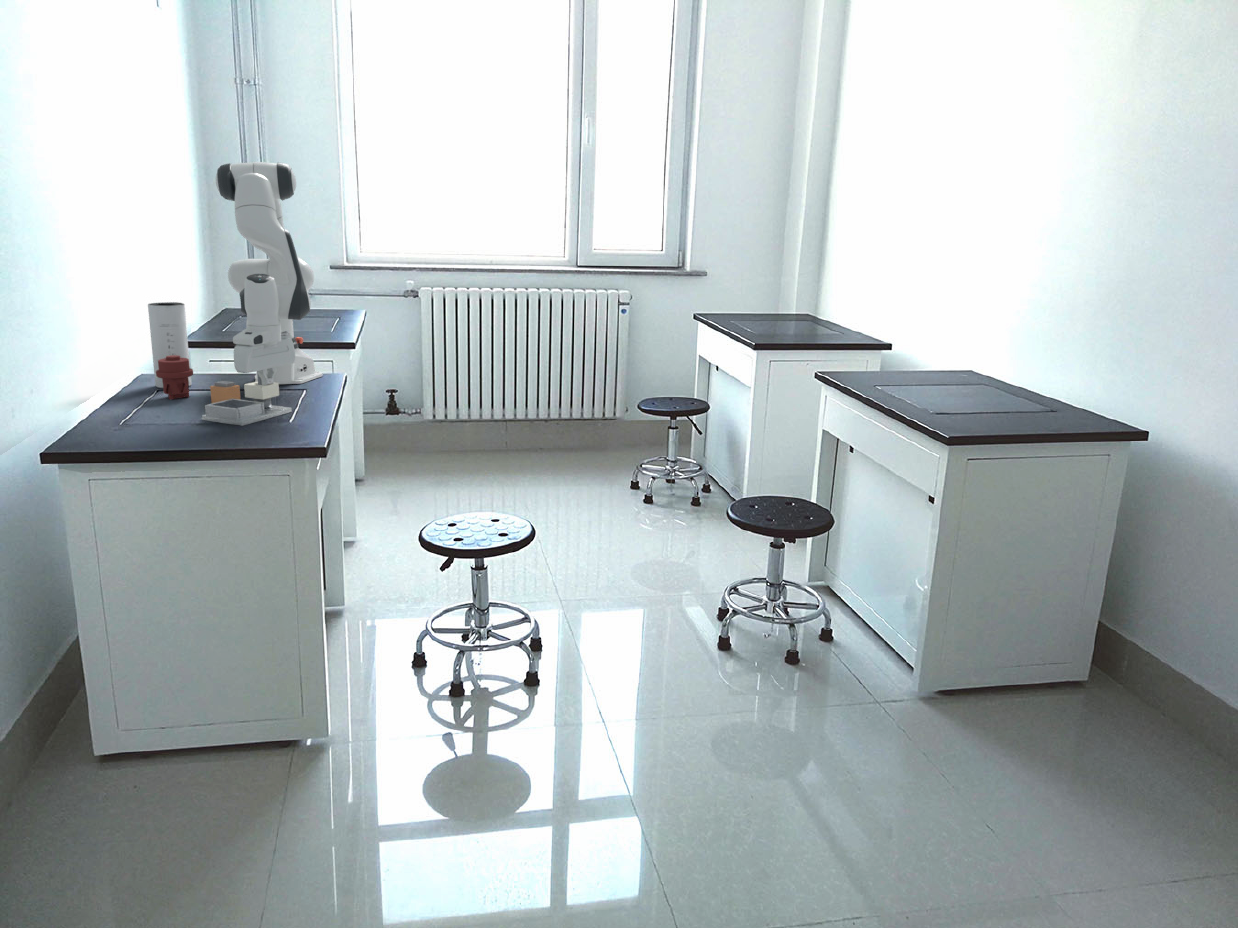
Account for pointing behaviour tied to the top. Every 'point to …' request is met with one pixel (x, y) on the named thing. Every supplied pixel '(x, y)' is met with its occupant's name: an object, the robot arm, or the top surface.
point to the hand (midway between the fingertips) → (267, 384)
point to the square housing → (261, 390)
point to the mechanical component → (175, 376)
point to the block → (224, 391)
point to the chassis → (243, 410)
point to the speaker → (167, 333)
